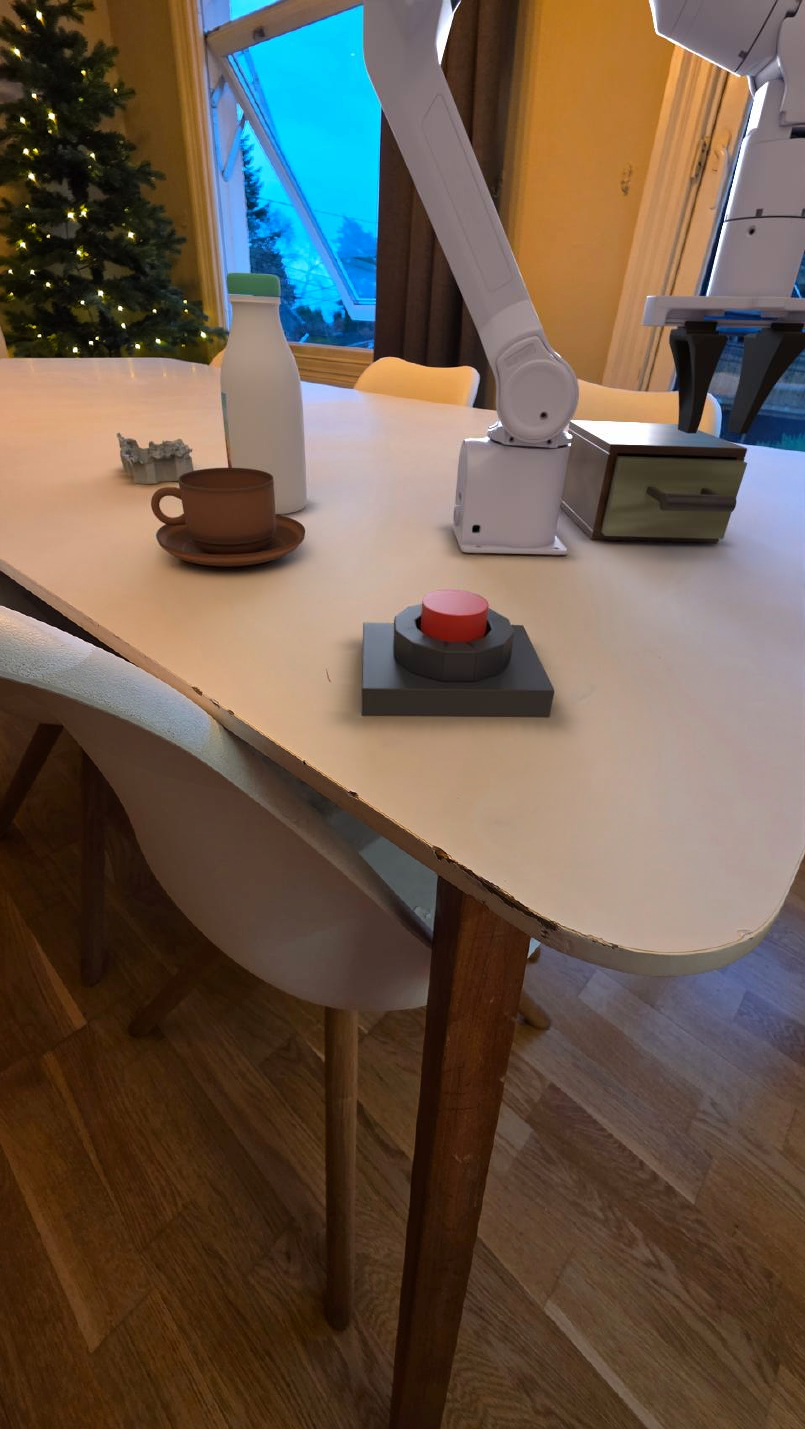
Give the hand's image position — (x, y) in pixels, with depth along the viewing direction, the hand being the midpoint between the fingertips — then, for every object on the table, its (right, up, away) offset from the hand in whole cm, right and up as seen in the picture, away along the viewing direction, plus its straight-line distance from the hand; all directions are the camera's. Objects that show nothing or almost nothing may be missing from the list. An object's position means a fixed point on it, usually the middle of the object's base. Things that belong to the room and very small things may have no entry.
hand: (711, 432), depth 51 cm
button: (-23, -19, -17) cm, 34 cm away
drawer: (-1, -5, +10) cm, 11 cm away
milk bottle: (-39, -2, +14) cm, 42 cm away
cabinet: (-1, -3, +15) cm, 15 cm away
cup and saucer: (-40, -10, +2) cm, 41 cm away
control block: (-23, -21, -15) cm, 35 cm away
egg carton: (-55, +6, +24) cm, 60 cm away
